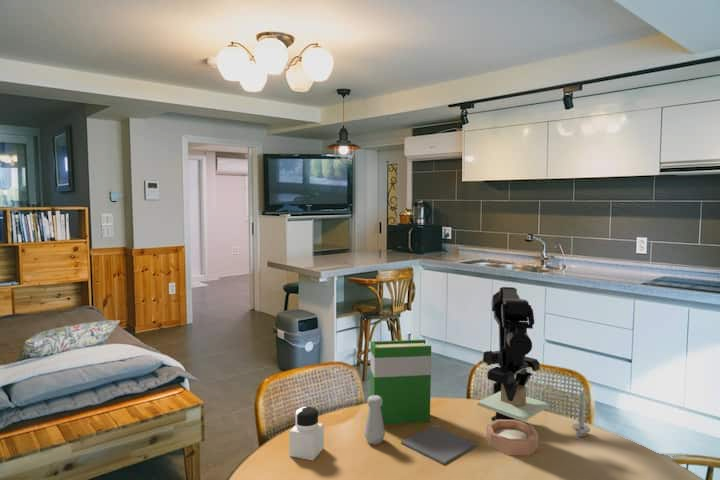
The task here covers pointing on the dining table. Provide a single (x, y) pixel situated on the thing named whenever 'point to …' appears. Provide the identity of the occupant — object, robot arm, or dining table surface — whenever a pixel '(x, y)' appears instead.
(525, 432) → the bowl
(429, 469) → the dining table surface
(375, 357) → the hardback book
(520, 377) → the robot arm
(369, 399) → the salt shaker
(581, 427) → the screw
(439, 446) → the mat
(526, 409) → the lid
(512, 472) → the dining table surface
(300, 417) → the medicine bottle
